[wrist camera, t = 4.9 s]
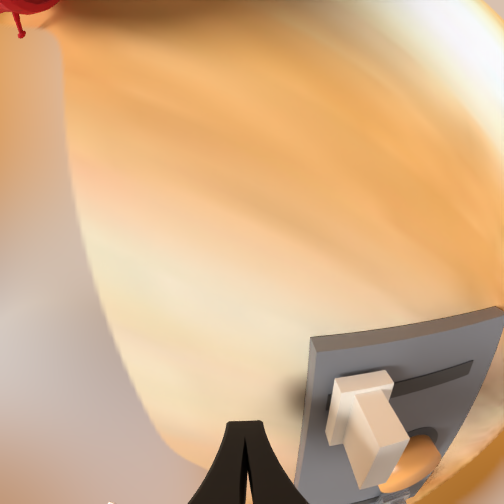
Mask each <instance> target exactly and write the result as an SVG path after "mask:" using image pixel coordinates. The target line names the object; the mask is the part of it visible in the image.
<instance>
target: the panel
mask: <svg viewBox="0 0 504 504" xmlns="http://www.w3.org/2000/svg"><path fill="white" fill-rule="evenodd" d="M503 328H504V312H503V311H502V310H500V309H499V308H497V307H496V306H495V307H491V308H487V309H483V310H479V311H475V312H470V313H466V314H461V315H457V316H452V317H447V318H443V319H437V320H432V321H427V322H422V323H416V324H410V325H404V326H398V327H392V328H385V329H378V330H371V331H364V332H356V333H348V334H339V335H330V336H320V337H310V350H309V362H308V374H307V385H306V395H305V405H304V414H303V422H302V431H301V439H300V446H299V453H298V460H297V467H296V474H295V480H294V486H295V487H296V488H297V490H298V491H299V492H300V493H301V495H302V496H303V497H304V498H305V499H306V500H307V502H308V503H309V504H374V503H375V502H376V500H377V499H378V497H379V496H380V494H382V493H383V492H381V491H380V489H379V486H378V485H376V486H373V487H369V488H365V489H361V490H359V487H358V484H357V481H356V478H355V476H354V473H353V470H352V467H351V464H350V461H349V458H348V456H347V453H346V450H345V447H344V444H339V445H333V446H329V443H328V439H327V436H326V433H325V430H326V425H327V420H328V414H329V409H330V404H331V398H332V392H333V386H334V380H335V378H340V377H347V376H353V375H359V374H365V373H371V372H376V371H381V370H386V371H387V373H388V374H389V376H390V377H391V379H392V380H393V382H394V386H393V389H392V392H391V395H390V399H389V403H390V405H391V407H392V409H393V410H394V412H395V414H396V415H397V417H398V419H399V420H400V422H401V424H402V426H403V427H404V429H405V431H406V432H407V434H408V436H409V438H410V437H413V436H417V435H427V436H429V437H430V438H431V440H432V442H433V443H434V445H435V446H436V448H437V450H438V451H439V453H440V454H441V459H442V457H443V456H444V454H445V452H446V451H447V449H448V448H449V446H450V444H451V443H452V441H453V440H454V438H455V436H456V434H457V433H458V431H459V429H460V427H461V426H462V424H463V422H464V420H465V418H466V417H467V415H468V413H469V411H470V409H471V407H472V405H473V403H474V401H475V399H476V397H477V395H478V392H479V390H480V388H481V386H482V384H483V381H484V379H485V377H486V374H487V372H488V369H489V367H490V365H491V362H492V359H493V357H494V354H495V351H496V349H497V346H498V343H499V340H500V337H501V334H502V331H503ZM432 472H433V471H432ZM432 472H431V473H432ZM431 473H430V474H431ZM430 474H429V475H427V476H426V477H425V478H423V479H422V480H420V481H419V482H417V483H416V484H414V485H412V486H410V487H408V489H409V491H410V493H411V494H410V496H409V497H408V498H410V497H413V496H414V495H415V494H416V493H417V492H418V490H419V489H420V488H421V487H422V485H423V484H424V483H425V481H426V480H427V479H428V477H429V476H430ZM408 498H407V499H408Z"/></svg>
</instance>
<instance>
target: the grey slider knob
mask: <svg viewBox="0 0 504 504" xmlns="http://www.w3.org/2000/svg"><path fill="white" fill-rule="evenodd" d="M410 494H411V493H410V491H409V489H408V488H405V489H403V490H400V491H397V492H392V493H382V494H380V496H379V497H378V499H377V500H376V502H375V503H374V504H406V499H407V498H408V497H409V496H410Z"/></svg>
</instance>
